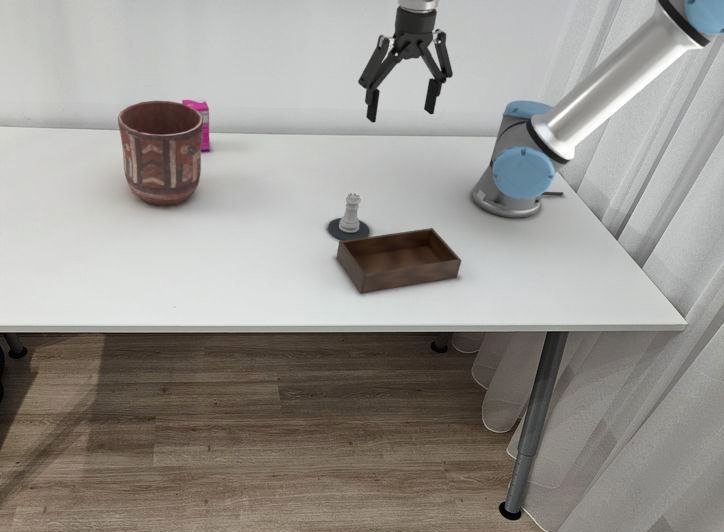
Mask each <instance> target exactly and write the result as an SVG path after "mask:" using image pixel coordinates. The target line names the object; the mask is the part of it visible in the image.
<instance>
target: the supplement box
mask: <svg viewBox="0 0 724 532" xmlns="http://www.w3.org/2000/svg"><path fill="white" fill-rule="evenodd" d="M181 104H184V105H187V106H190V107H192V108H194V109H195V110H197V111H198V112H200V114H201V116H202V117H203V129H202V137H201V153H205V152H210V108H209V105H208V103H207V101H206V99H205V97H201V98H189V99H187V98H186V99H182V100H181Z"/></svg>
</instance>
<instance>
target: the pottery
mask: <svg viewBox="0 0 724 532" xmlns="http://www.w3.org/2000/svg"><path fill="white" fill-rule="evenodd" d="M117 125H118V128H119V136H120V140H121V148H122V155H123V156H122V161H123V170H124V171H123V172H124V176H125V179H126V182H127V186H128V187H129V188H130V190H131V191H132V193H133V194H134V195H136V196H137V197H138V198H140V199H141V200H142V201H144V202H145V203H147V204H149V205H152V206H159V207H162V206H163V207H169V206H176V205H180V204H182V203H183V202H185V201H186V200H188V199H189V198H190V197H191V196H192V195H193V194H194V193H195V192H196V190H197V188H198V186H199V183H200V178H201V172H202V159H201V158H202V154H201V153H202V152H201V137H202V129H203V117H202V116H201V114H200V112H198V111H197V110H195V109H194V108H192V107H190V106H187V105H184V104H182V102H181V103H180V102H177V101H176V102H175V101H170V100H149V101H141V102H138V103H135V104H131V105H129V106H127V107H125V108H124V109H122V110H121V111H120V112H119V114H118V116H117Z"/></svg>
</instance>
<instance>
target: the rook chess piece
mask: <svg viewBox="0 0 724 532" xmlns="http://www.w3.org/2000/svg"><path fill="white" fill-rule="evenodd" d="M360 197H361V196H360V194H357V192H354V193H353V192H349V193H348V194H347V196H346V197H345V202H346V204H345V211H344V214H343V216H342V217H340V218H341V220H340V224H339V228H340V230H341V231H343V232H345V233H355V232H357V231H358V230H359V225H360V224H359V220H360V219H359V217H358V210H359V207H360V206H359V204H360V203H362V199H361V198H360Z"/></svg>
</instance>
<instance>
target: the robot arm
mask: <svg viewBox="0 0 724 532" xmlns="http://www.w3.org/2000/svg"><path fill="white" fill-rule="evenodd" d="M439 3H440V0H397V4H398V6H397V8H396V12H395V19H394V33H393V35H392V36H385V35H384V34H380V35H379V36H378V38H377V43H376V47H375V49H374V50H373V52H372V54H371V56H370V59H368V62H367V63H366V65H365V68H363V71H362V72H361V74H360V76H359V78H358V80H357V84H359V85H360V86H361V87H362V88H363V89H365V97H364V102H365V104H366V105H367V109H366V116H365V117H366V119H368V121H370V123H372V124H373V123H376V122H377V114H378V107H379V99H380V92H381V90H379V89H378V88H379V87H380V86H381V84H382V83H383V82H384V80H385V79H386V78H387V77H388V76H389V74H391V72H392V71H393V70H394V68H395V67H396V66H397V65H398V64H400V63H402V61H403V60H405V61H407V60H410V59H420V58H421V59H422V61H423V62H424V64H425V65H426V67H427V69H428V71H429V73H430V74H431V76H432V77H433V78H428V85H427V90H426V95H425V100H424V101H425V102H424V106H423V110H424V111H425V112H427V114H429V115H434V114H435V108H436V103H437V99H438V97H440V96H441V91H442V88H443V87H442V86H443V84H445V83H446V82H447V79H451V78H453V76H454V72H453V69H452V65H451V60H450V57H449V52H448V47H447V33H446V32H445V31H443V30H442V29H440V28H436V29H435V25H436V20H437V14H438V11H437V8H438V7H439ZM654 6H655V7H654V11H653V14H652V15H651V16H650V17H649V18H648V19H647V20H646V21H644V22H643V23H642V24H641V25H640V26H639V27H638V28H637V29H636V30H635V31H634V32H633V33H631V34H630V35H629V36H628V37H627V38H626V39H625V40H624V41H623V42H622V43H621V44H620V45H618V47H616V49H614V50H613V51H612V52H611V53H610V54H609V55H608V56H607V57H606V58H605V59H604V60H603V61H601V62H600V63H599V64H598V65H597V66H596V67H595V68H594V69H593V70H591V72H589V73H588V74H587V76H585V77H584V78H583V79H582V80H581V81H580V82H579V83H578V84H577V85H575V87H573V88H572V89H571V90H570V91H569V92H568V93H566V95H565V96H563V97H562V99H560V100H559V101H558V102H557V103H556V104H555V105H554V106H553V105H550V104H546V103H543V102H539V101H533V100H514V101H510V102H509V103H508V104H506V106H505V109H504V112H503V113H502V119H501V122H500V125H499V128H498V132H497V136H496V139H495V143H494V147H493V150H492V154H491V157H490V161H489V164H488V165H487V167H486V169H485V171H484V172H483V173H482V175H481V176H480V178H479V179H478V181H477V182H476V183H475V185H474V188H473V191H472V200H473V202H474V203H475V204H476V205H477V206H478V207H480V209H483V210H484V211H486V212H488V213H490V214H493V215H496V216H500V217H505V218H510V219H511V218H513V219H521V218H527V217H531V216H533V215H535V214H536V213H537V212H538V211H539V209H540V206H541V203H542V196H563V195H564V192H563V191H547V190H549V188H550V187H551V185H552V183H553V182H554V180H555V177H556V174H557V173H558V172H559V171H561V169H562V168H563V167H565V166H566V165H567V164H568V163H570V162H571V160H573V159H574V158H575V153H576V146H578V144H579V143H581V142H582V141H583V140H585V138H586V137H588V136H589V135H590V134H592V132H593V131H595V130H596V129H597V128H598V127H599V126H601V125H602V124H603V123H604V122H605V121H606V120H608V119H609V118H610V117H611V116H613V115H614V114H615V113H616V112H617V111H618V110H620V108H622V107H623V106H624V105H625V104H626V103H627V102H629V101H630V100H631V99H632V98H633V97H635V95H637V94H638V93H639V92H640V91H642V90H643V89H644V88H645V87H646V86H648V85H649V84H650V83H651V82H652V81H653V80H654V79H655V78H656V77H658V76H659V75H660V74H661V73H663V71H665V70H666V69H667V68H669V67H670V65H672V64H673V63H674V62H675V61H676V60H678V59H679V58H680V57H681V56H682V55H684V53H686V52H687V51H689V50H699V49H700V50H702V49H704V48H705V47H707V45H708V44H710V43H711V42H712V41H714V40H715V39H716V38H717V37H718V36H719V35H724V0H655V5H654ZM434 29H435V30H434ZM432 42H433V44H434V48H435V52H436V56H437V61H438V63H439V65H438V64H437V62H436V60H435V59H434V57H433V54H432V53H431V50H430V49H429V46H430V45H431V43H432ZM386 55H387V56H386Z"/></svg>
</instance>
